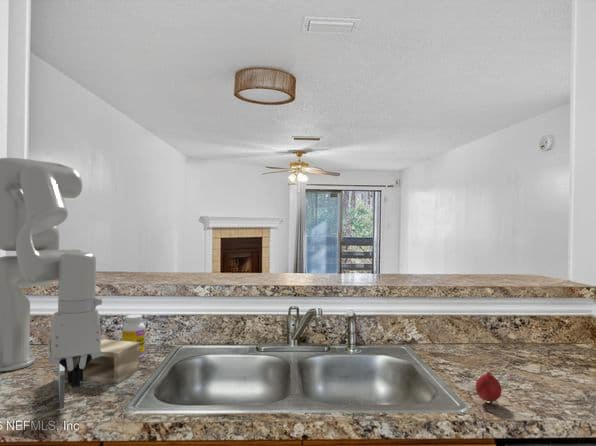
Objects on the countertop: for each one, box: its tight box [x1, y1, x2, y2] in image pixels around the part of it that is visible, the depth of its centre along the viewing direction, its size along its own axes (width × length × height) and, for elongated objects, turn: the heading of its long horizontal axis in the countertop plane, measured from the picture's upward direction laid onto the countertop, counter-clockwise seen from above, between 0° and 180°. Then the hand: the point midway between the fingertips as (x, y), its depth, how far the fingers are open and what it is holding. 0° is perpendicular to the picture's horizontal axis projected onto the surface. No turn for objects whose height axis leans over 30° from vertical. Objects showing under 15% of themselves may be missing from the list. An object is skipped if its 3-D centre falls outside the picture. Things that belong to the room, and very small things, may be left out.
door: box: [57, 364, 66, 410], centre depth 102 cm, size 23×1×6 cm, turn 31°
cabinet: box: [64, 338, 140, 384], centre depth 115 cm, size 16×10×8 cm, turn 80°
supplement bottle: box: [121, 313, 146, 359], centre depth 130 cm, size 7×7×13 cm
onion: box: [475, 371, 502, 403], centre depth 102 cm, size 6×6×8 cm
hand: (75, 385), depth 96 cm, fingers closed
